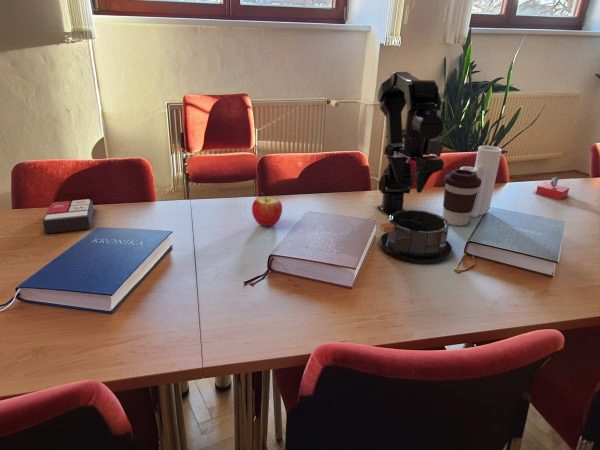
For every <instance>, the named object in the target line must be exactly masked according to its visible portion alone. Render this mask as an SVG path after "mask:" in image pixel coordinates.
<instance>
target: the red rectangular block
mask: <svg viewBox="0 0 600 450" xmlns="http://www.w3.org/2000/svg"><path fill="white" fill-rule="evenodd" d="M558 182H559V177H556V176H555V177H552V179H551V180H550V182H547V181H545V182H543V183H540V184H539V185H537V187H536V191H535V194H536V195H539V196H544V197H547V198H551V199H556V200H559V201H560V200H563V199H564V198H565V197H568V194H569V190H570V187H568V186H563V185H559V184H558Z"/></svg>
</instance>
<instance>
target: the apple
mask: <svg viewBox="0 0 600 450" xmlns="http://www.w3.org/2000/svg"><path fill="white" fill-rule="evenodd" d="M260 194H262V196H263V197H262V196H261V197H257V198H256V199H254V201H253V202H252V205H251V213H252V216H253V218H254V220H255V222H256V223H257V224H258V225H261V226H263V227H271V226H274V225H276V224H277V223H278V222H279V220H280V219H281V216H282V213H283V205H282V202H281V200H279V199H276V198H272V197H266V194H264V192H262V191H260Z"/></svg>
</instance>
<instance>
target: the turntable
mask: <svg viewBox="0 0 600 450" xmlns="http://www.w3.org/2000/svg"><path fill="white" fill-rule="evenodd" d="M387 236H388V232H384V233H383V234H382V235H381V236H380V239H379V248H380V249H381V250H382V252H384V253H385V254H386V255H387V256H389V257H391V258H393V259H395V260H398V261H401V262H403V263H409V264H415V265H435V264H440V263H443V262H445V261H447V260H448V259H449V258H450V257H451V255H452V249H453V247H452V245H451V243H450V242H449V241H448V240H446V246H445V247H444V250H443V251H442V252H441V253H439V254H437V255H433V256H413V255H408V254H404V253H401V252H399V251H397V250H395V249H393V248H392V247H391V246H390V245H389V244H388V242H387Z"/></svg>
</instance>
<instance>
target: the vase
mask: <svg viewBox="0 0 600 450" xmlns="http://www.w3.org/2000/svg"><path fill="white" fill-rule="evenodd" d="M502 151H503V149H502V148H500V147H497V146H493V145H479V146H478V147H477V151H476V158H475V163H474V167H473V166H460V168H459V169H461V170H469V171H472V172H475V173H476V174H477V177H478V178H480V179H481V185H480V187H478V189H477V195H476V199H475V203H474V206H473V210H472V211H471V214H470V218H472V217H473V218H477V217H479V216H484V215H483V214H484V213H485V211H486V209H487V208H489V207H490V208H491V203H492V199H493V193H494V189H495V185H496V179H497V175H498V171H499V166H500V161H501V156H502ZM490 208H489V209H490Z"/></svg>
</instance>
